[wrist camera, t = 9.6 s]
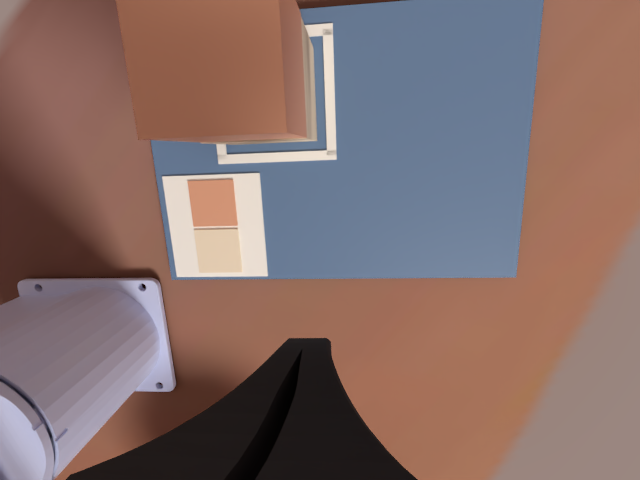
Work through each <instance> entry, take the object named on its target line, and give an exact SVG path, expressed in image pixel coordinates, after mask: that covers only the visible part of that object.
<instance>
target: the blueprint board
mask: <svg viewBox="0 0 640 480" xmlns="http://www.w3.org/2000/svg"><path fill="white" fill-rule="evenodd" d="M543 2H544V0H406V1H394V2H381V3H369V4H357V5H345V6H332V7H320V8H308V9H299V10H300V12H301V17H302V20H303V22H304V25H305V27H306V30H307V32H308V35H309V38H310V40H311V43H312V45H313V49H314V73H315V97H316V122H317V141H307V142H285V143H263V144H240V145H228V144H202V143H200V142H180V141H157V140H151V146H152V152H153V159H154V165H155V172H156V179H157V185H158V192H159V198H160V205H161V212H162V218H163V225H164V231H165V238H166V245H167V251H168V258H169V264H170V271H171V277H172V280H195V279H345V278H494V277H516V273H517V263H518V253H519V243H520V233H521V223H522V213H523V203H524V193H525V183H526V173H527V163H528V152H529V142H530V132H531V122H532V112H533V102H534V92H535V82H536V72H537V62H538V52H539V42H540V32H541V22H542V12H543Z"/></svg>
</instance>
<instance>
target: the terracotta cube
mask: <svg viewBox="0 0 640 480" xmlns="http://www.w3.org/2000/svg"><path fill="white" fill-rule="evenodd" d="M116 4H117V10H118V17H119V23H120V29H121V35H122V42H123V48H124V54H125V60H126V67H127V73H128V79H129V85H130V92H131V98H132V104H133V110H134V116H135V123H136V129H137V135H138V140H157V141H180V142H221V141H242V140H264V139H285V138H307V130H306V109H305V88H304V68H303V47H302V26H301V12H300V10H299V7H298V5H297V2H296V0H116Z"/></svg>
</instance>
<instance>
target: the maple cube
mask: <svg viewBox="0 0 640 480" xmlns="http://www.w3.org/2000/svg"><path fill="white" fill-rule="evenodd" d="M301 26H302V47H303V68H304V88H305V109H306V130H307V138H285V139H264V140H242V141H221V142H200V143H202V144H228V145H240V144H263V143H285V142H307V141H317V122H316V97H315V73H314V49H313V45H312V43H311V40H310V38H309V35H308V32H307V30H306V27H305V25H304V22H303V20H302V17H301Z"/></svg>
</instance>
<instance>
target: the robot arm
mask: <svg viewBox="0 0 640 480" xmlns="http://www.w3.org/2000/svg"><path fill="white" fill-rule="evenodd" d="M142 284H144V285H145V286H146V289H144V288H143V287H142ZM40 285H41V287H42V288H41V287H40ZM17 287H18V292H19V295H20V297H18V298H15V299H13V300H11V301H9V302H6V303H4V304H2V305H0V480H54V479H55V478H56V477H57V476H58V475H59V474H60V473H61V471H62V470H63V469H64V468H65V467H66V466H67V465H68V464H69V463H70V462H71V460H72V459H73V458H74V457H75V456H76V455H77V454H78V453H79V452H80V450H81V449H82V448H83V447H84V446H85V445H86V444H87V443H88V442H89V441H90V439H91V438H92V437H93V436H94V435H95V434H96V433H97V432H98V431H99V429H100V428H101V427H102V426H103V425H104V424H105V423H106V422H107V421H108V420H109V418H110V417H111V416H112V415H113V414H114V413H115V412H116V411H117V410H118V408H119V407H120V406H121V405H122V404H123V403H124V402H125V401H126V400H127V399H128V397H129V396H130V395H131V394H132V393H133V392H134V391H150V392H171V391H172V390H173V389H174V388H175V386H176V379H175V373H174V366H173V360H172V354H171V348H170V342H169V335H168V329H167V323H166V317H165V310H164V304H163V298H162V292H161V285H160V283H159V281H158V280H157V279H155V278H58V279H24V280H21V281H20V282H18V285H17ZM159 382H160V383H162V385H160V384H159ZM66 480H417V479H416V478H415V477H414V476H413V475H412V474H410V473H409V472H408V471H407V470H406V469H405V468H404V467H403V466H402V465H401V464H400V463H399V462H398V461H397V460H396V459H395V458H394V457H393V456H392V455H391V454H390V453H389V452H388V451H387V450H386V449H385V447H384V446H383V445H382V444H381V443H380V441H379V440H378V439H377V438H376V437H375V435H374V434H373V433H372V432H371V431H370V429H369V428H368V427H367V425H366V424H365V422H364V421H363V420H362V418H361V417H360V415H359V414H358V412H357V411H356V409H355V407H354V406H353V404H352V403H351V401H350V399H349V397H348V395H347V393H346V391H345V389H344V387H343V385H342V383H341V381H340V379H339V376H338V374H337V371H336V369H335V366H334V363H333V360H332V356H331V342H330V341H329V340H328V339H327V338H289V339H288V340H287V341H286V342H285V343H284V344H283V345H282V346H281V347H280V348H279V349H278V350H277V351H276V352H275V353H274V354H273V355H272V356H271V357H270V358H269V359H268V360H267V361H266V362H265V363H264V364H262V365H261V366H260V367H259V368H258V369H257V370H256V371H255V372H254V373H253V374H252V375H251V376H249V377H248V378H247V379H246V380H245V381H244V382H242V383H241V384H240V385H239V386H238V387H237V388H235V389H234V390H233V391H232V392H230V393H229V394H228V395H226V396H225V397H224V398H222V399H221V400H220V401H218V402H217V403H215V404H214V405H212V406H211V407H209V408H208V409H207V410H205V411H203V412H202V413H200V414H199V415H197V416H195V417H194V418H192V419H190V420H188V421H187V422H185V423H183V424H182V425H180V426H178V427H177V428H175V429H173V430H171V431H170V432H168V433H166V434H164V435H162V436H160V437H158V438H156V439H154V440H152V441H150V442H148V443H146V444H144V445H142V446H140V447H138V448H135V449H133V450H131V451H129V452H127V453H124V454H122V455H120V456H117V457H115V458H112V459H110V460H107V461H105V462H102V463H100V464H97V465H95V466H92V467H90V468H87V469H85V470H82V471H80V472H77V473H74V474H71V475H70V476H69V477H68V478H67V479H66Z"/></svg>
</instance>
